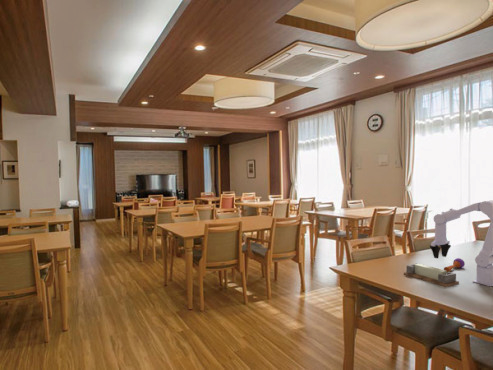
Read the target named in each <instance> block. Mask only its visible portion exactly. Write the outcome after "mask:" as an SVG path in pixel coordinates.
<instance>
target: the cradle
mask: <svg viewBox="0 0 493 370" xmlns="http://www.w3.org/2000/svg"><path fill="white" fill-rule="evenodd" d="M415 264H416V263H412V264H407V265H406V271H404V272H403V275H406V276H409V277H412V278H416V279H419V280H423V281H426V282H429V283H432V284H435V285H438V286H442V287H445V288H447V287H451V286H455V285H458V284H460V281H459V280H457V273H454V272H451V271H450V272H447V275H443V274H438V280H436V279H433V278H429V277H426V276H422V275H419V274H416V273H415Z"/></svg>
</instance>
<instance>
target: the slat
mask: <svg viewBox="0 0 493 370" xmlns="http://www.w3.org/2000/svg"><path fill="white" fill-rule="evenodd" d="M414 264H415V273H416V274H419V275H422V276H426V277H429V278H433V279H436V280H438V274H443V275H447V271H445V270H444V269H442V268H437V267H433V266H429V265H425V264H421V263H414Z"/></svg>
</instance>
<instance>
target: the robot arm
mask: <svg viewBox="0 0 493 370" xmlns="http://www.w3.org/2000/svg"><path fill="white" fill-rule="evenodd" d="M475 211H476V212H481V213H482V214H484V215H486V216H487V217H488V219H489V220H490V222H489V226H488V229H487V232H486V234H485V235H486V236H485V238H484V242H483V244H482V248H481V250H480V251H479V253H478V255H477V256H476V257H475V258H474V262H475V264H476V279H475V280H472V282H473V283H475V284H480V285H484V286H488V287H491V286H493V200H483V201H480V202H475V203H472V204H469V205H466V206H464V207H461V208H459V209H457V208H453V207H452V208H449V210H446V211H441V213H436V214H435V215H434V216H433V222H434V240H433V241H432V242H430V245H429V247H430V249H431V251H432V255H433V258H434V259H439V254H440V250H441V256H442V258H447V256H448V252H449V250H450V248H451V247H452V246H451V244H450V242H451V241H450V240H447V223H449V222H452V221H455V220H457V219H458V220H459V218H461V216H462V215H465V214H468V213H471V212H475Z"/></svg>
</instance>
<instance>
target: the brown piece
mask: <svg viewBox="0 0 493 370" xmlns="http://www.w3.org/2000/svg"><path fill="white" fill-rule="evenodd" d="M465 264H466V263H465V261H464V260H463V258H458V257H457V258H455V259H454V260H453V261H452V265H449V266H444V267H443V270H445V271H447V272H451V271H452V270H453V269H454V268H455V269H456V268H457V269H458V268H459V269H462V268H465Z"/></svg>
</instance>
